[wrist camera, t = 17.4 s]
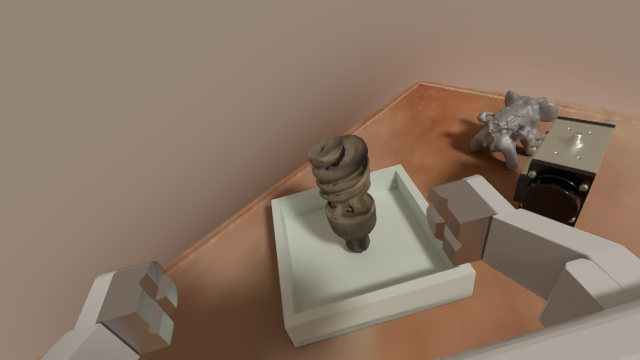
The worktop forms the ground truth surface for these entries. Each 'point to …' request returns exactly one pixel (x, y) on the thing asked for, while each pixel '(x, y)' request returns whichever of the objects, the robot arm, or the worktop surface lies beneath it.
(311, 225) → the tray
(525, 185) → the pneumatic valve
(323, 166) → the light bulb
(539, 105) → the gray elephant figurine
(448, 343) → the worktop surface
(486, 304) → the worktop surface
